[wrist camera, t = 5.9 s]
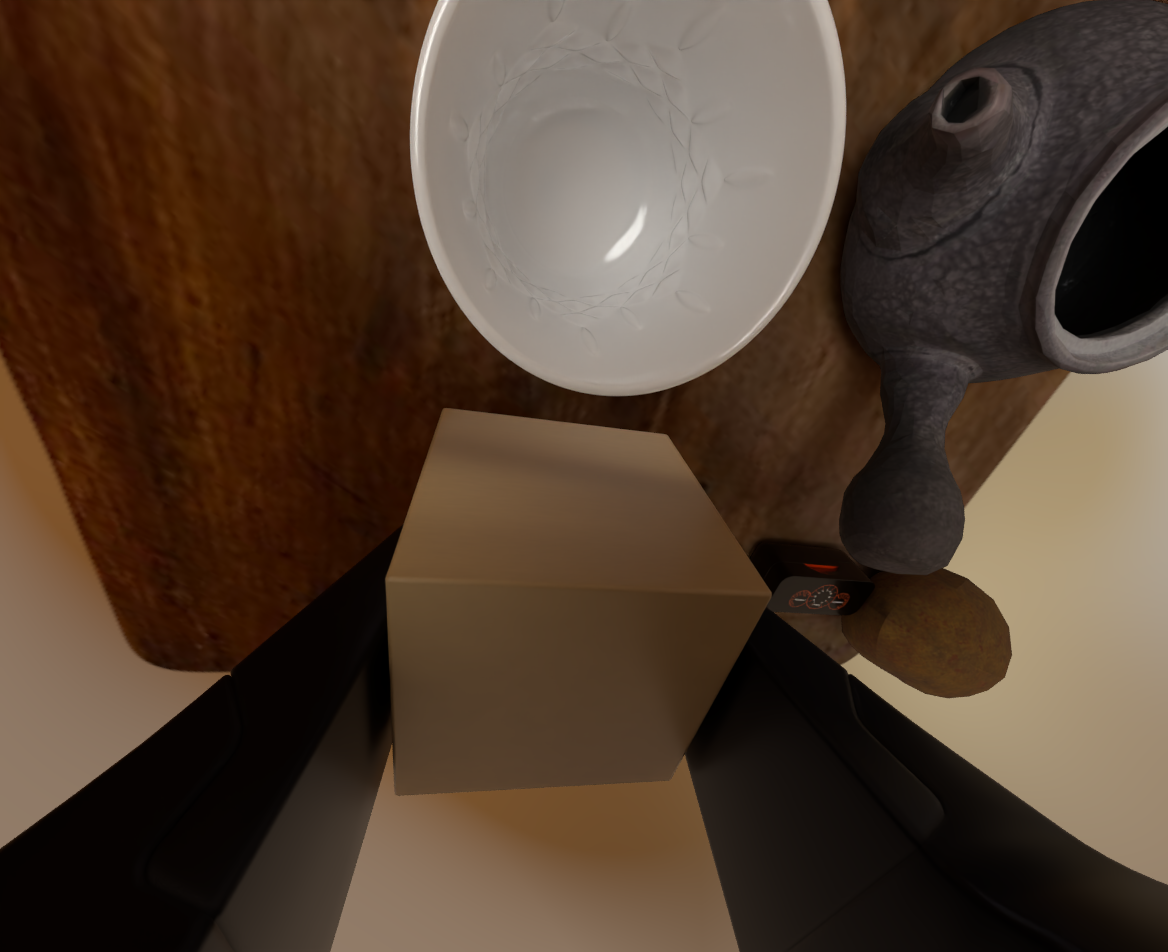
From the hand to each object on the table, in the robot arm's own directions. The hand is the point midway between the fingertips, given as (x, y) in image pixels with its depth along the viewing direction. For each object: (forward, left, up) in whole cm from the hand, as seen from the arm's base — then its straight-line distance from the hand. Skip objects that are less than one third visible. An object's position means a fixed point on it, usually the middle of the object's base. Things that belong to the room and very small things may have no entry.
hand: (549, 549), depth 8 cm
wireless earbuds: (+21, -1, -13) cm, 25 cm away
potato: (+30, -1, -8) cm, 31 cm away
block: (0, 0, -1) cm, 1 cm away
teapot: (+11, +12, -14) cm, 21 cm away
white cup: (-2, +5, -14) cm, 15 cm away
